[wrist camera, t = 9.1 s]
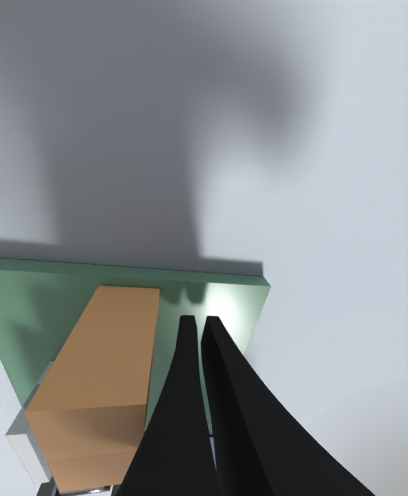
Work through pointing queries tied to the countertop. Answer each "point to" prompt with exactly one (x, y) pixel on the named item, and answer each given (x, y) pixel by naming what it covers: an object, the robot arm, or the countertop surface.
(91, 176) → the countertop surface
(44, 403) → the orange l-shaped block
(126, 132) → the countertop surface
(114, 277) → the board
